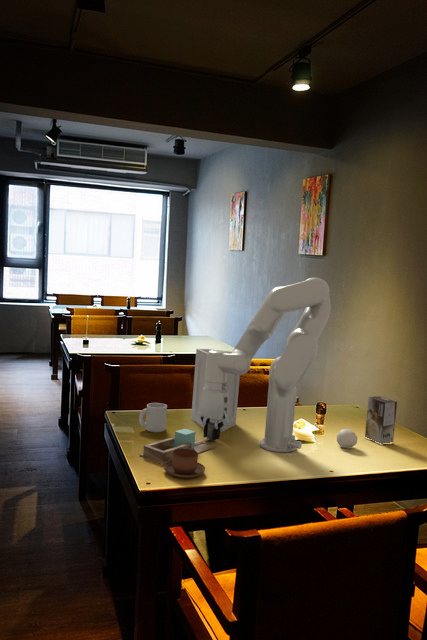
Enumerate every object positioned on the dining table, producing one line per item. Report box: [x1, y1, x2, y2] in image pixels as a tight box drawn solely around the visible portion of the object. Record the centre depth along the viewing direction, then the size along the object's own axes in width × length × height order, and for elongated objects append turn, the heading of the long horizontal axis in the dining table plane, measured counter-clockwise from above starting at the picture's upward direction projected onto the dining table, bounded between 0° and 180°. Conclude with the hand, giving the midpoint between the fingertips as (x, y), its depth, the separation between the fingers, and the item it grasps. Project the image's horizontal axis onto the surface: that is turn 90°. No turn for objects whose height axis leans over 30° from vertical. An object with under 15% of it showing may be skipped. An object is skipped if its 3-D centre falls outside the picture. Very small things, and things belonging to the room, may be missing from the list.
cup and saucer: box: [163, 449, 206, 479], centre depth 157 cm, size 12×12×6 cm
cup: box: [138, 402, 168, 433], centre depth 196 cm, size 7×10×9 cm
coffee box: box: [364, 396, 398, 444], centre depth 203 cm, size 9×6×16 cm
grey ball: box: [336, 428, 358, 449], centre depth 192 cm, size 7×7×7 cm
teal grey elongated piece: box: [174, 422, 215, 449], centre depth 183 cm, size 19×4×6 cm, turn 142°
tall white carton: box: [190, 348, 241, 433], centre depth 209 cm, size 19×15×28 cm
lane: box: [138, 437, 217, 466], centre depth 175 cm, size 25×11×3 cm, turn 142°
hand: (211, 437), depth 189 cm, fingers closed on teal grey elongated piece, 3 cm apart
